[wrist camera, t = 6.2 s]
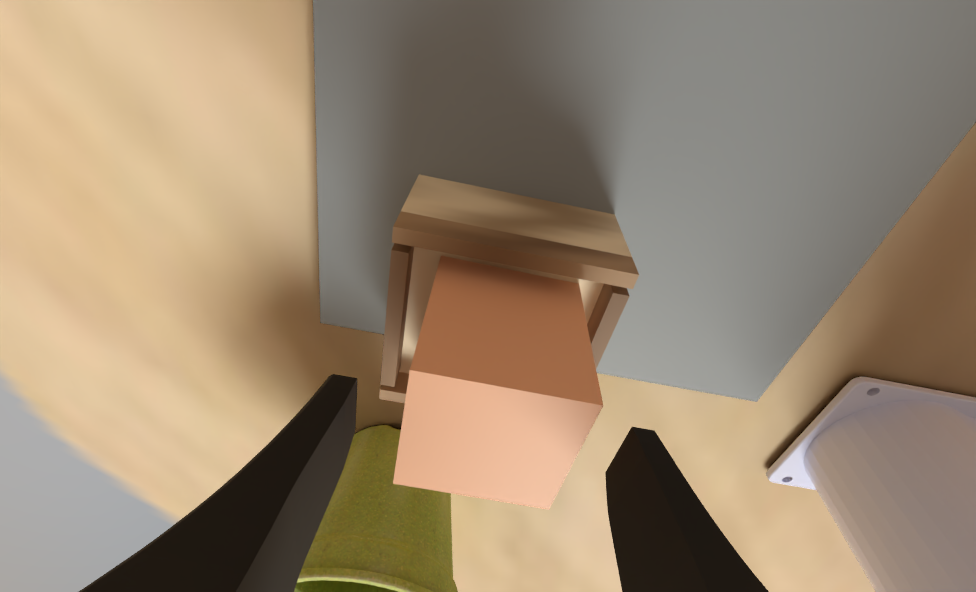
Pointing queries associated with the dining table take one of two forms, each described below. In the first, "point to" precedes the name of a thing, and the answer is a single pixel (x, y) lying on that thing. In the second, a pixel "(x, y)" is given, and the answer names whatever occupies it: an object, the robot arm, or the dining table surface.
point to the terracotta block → (498, 386)
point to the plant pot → (380, 528)
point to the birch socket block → (498, 259)
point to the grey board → (649, 149)
